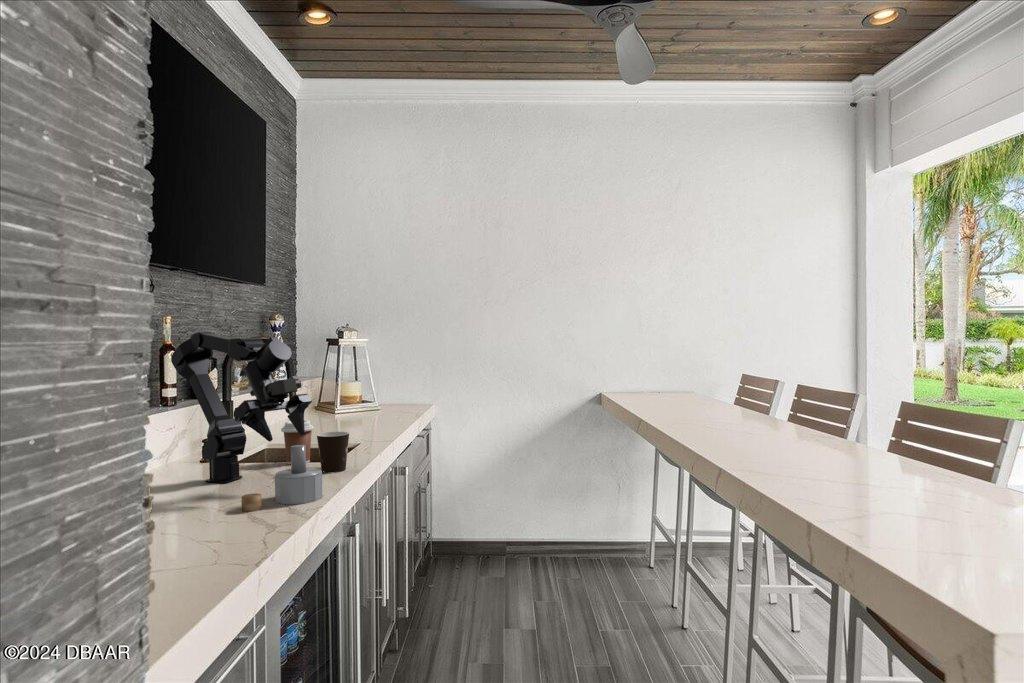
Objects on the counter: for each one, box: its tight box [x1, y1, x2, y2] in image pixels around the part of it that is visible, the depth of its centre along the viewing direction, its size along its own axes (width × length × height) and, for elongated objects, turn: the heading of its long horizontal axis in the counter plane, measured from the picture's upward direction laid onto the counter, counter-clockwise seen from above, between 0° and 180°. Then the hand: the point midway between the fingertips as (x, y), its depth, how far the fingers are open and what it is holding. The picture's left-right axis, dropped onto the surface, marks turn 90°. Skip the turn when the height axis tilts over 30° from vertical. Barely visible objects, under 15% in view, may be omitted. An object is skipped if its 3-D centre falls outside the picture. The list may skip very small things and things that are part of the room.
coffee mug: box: [316, 431, 350, 473], centre depth 173 cm, size 12×9×10 cm
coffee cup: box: [280, 419, 315, 465], centre depth 183 cm, size 9×9×12 cm
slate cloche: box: [274, 445, 323, 505], centre depth 142 cm, size 10×10×12 cm
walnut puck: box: [240, 493, 263, 513], centre depth 134 cm, size 4×4×3 cm
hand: (287, 437), depth 148 cm, fingers open, 9 cm apart
